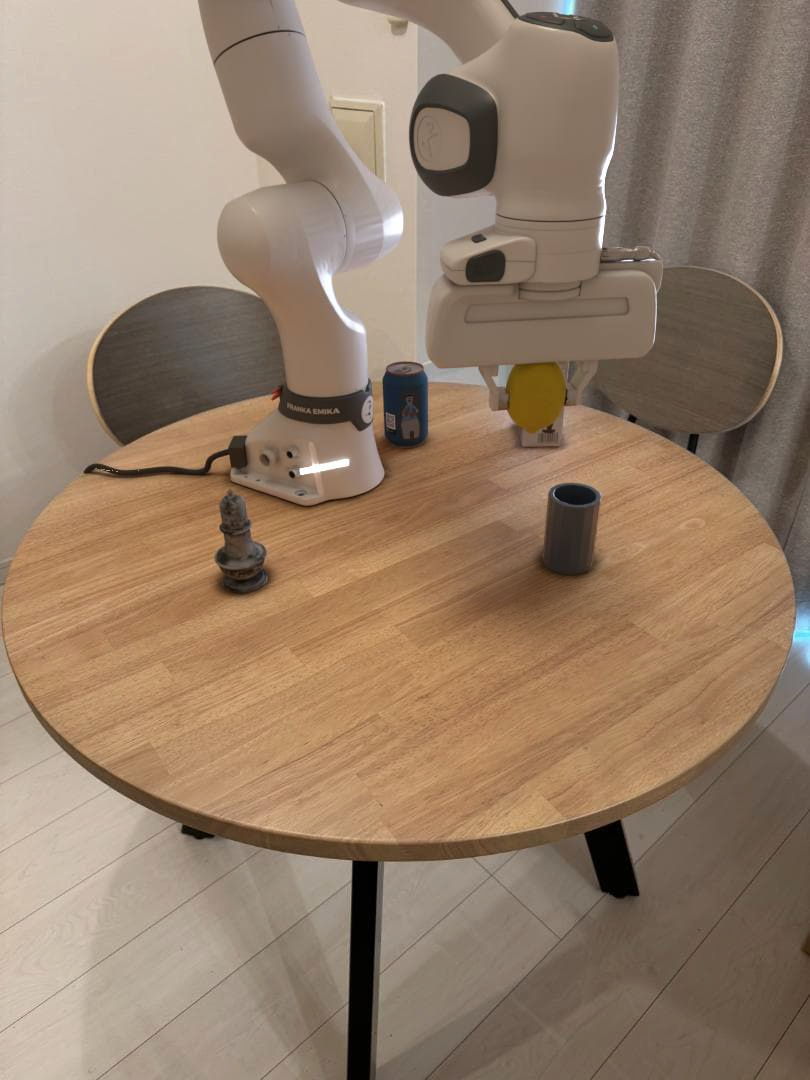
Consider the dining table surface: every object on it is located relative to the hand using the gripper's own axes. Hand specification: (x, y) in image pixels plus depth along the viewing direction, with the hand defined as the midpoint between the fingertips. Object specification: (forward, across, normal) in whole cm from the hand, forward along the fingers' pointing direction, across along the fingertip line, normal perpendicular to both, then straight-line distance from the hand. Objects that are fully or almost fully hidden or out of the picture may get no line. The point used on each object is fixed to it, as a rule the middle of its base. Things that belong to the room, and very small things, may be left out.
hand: (533, 406), depth 69 cm
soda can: (+23, +7, -44) cm, 50 cm away
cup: (+23, -8, -7) cm, 25 cm away
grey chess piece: (+23, +30, -9) cm, 39 cm away
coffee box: (+23, -14, -42) cm, 50 cm away
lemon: (+3, 0, 0) cm, 3 cm away
